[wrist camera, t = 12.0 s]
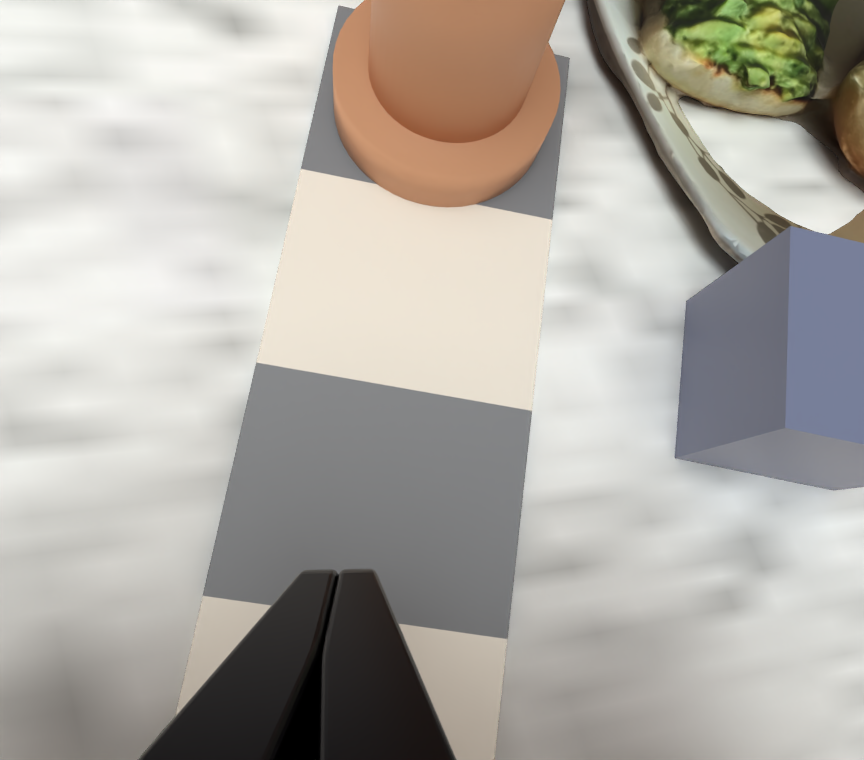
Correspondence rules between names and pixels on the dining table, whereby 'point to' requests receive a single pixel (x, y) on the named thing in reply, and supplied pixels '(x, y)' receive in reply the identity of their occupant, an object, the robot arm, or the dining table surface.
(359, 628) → the robot arm
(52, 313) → the dining table surface
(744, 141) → the dining table surface
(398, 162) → the pawn
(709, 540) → the dining table surface
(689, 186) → the salad plate
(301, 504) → the board
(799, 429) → the die
